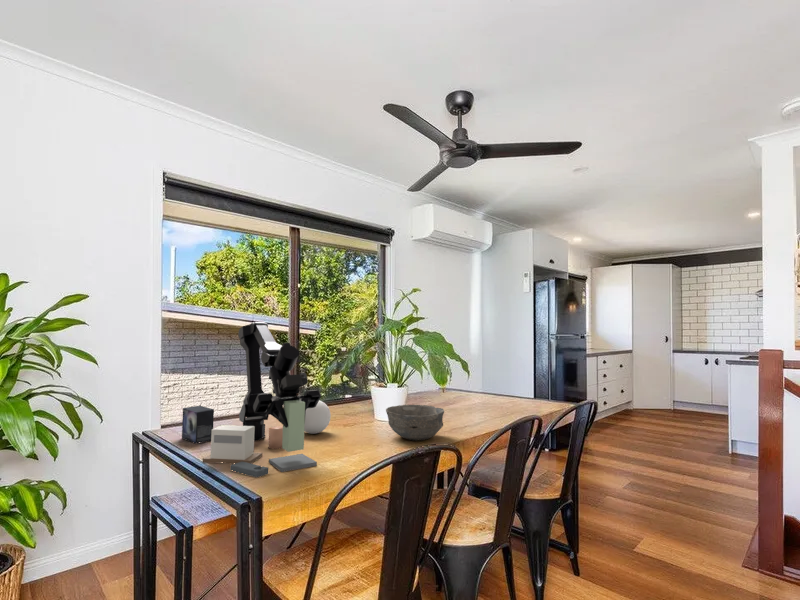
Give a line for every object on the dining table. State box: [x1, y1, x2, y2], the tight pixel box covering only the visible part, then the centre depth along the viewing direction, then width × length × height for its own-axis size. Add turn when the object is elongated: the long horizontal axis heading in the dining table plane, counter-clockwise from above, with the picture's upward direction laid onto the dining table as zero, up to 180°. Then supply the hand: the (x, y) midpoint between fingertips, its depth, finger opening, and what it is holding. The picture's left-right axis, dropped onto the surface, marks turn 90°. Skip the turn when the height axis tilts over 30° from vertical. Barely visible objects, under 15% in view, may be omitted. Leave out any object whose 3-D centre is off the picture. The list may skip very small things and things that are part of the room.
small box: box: [181, 405, 215, 444], centre depth 150 cm, size 11×6×10 cm, turn 50°
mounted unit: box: [202, 424, 263, 464], centre depth 127 cm, size 14×8×9 cm, turn 84°
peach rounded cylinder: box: [268, 425, 283, 450], centre depth 141 cm, size 5×5×6 cm
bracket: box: [230, 462, 269, 478], centre depth 116 cm, size 4×10×2 cm, turn 59°
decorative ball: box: [304, 400, 332, 435], centre depth 161 cm, size 12×12×12 cm
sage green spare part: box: [281, 400, 305, 453], centre depth 124 cm, size 4×4×13 cm
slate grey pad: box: [268, 453, 318, 473], centre depth 123 cm, size 10×10×1 cm
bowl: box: [385, 404, 445, 442], centre depth 156 cm, size 21×21×10 cm
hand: (295, 425), depth 123 cm, fingers closed on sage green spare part, 4 cm apart
